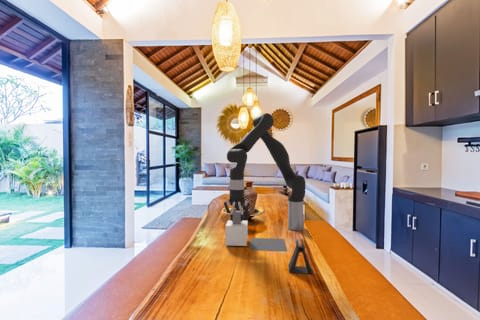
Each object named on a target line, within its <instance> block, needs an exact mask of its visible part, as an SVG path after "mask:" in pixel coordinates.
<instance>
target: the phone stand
mask: <svg viewBox="0 0 480 320" xmlns="http://www.w3.org/2000/svg"><path fill="white" fill-rule="evenodd" d="M305 249H306V246H305V244H304V240H303V239H302V238H300V239H299V238H297V239H296V241H295V248H294V250H293V253H292V256H291V258H290V261H289V263H288V272H289V274H297V273H300V274H301V273H305V274H304V275H313V272H312V268H311V264H310V262H309V259H308V256H307V254H306V250H305ZM300 253H302V256H303V260H304V264H305V266H302V265H297V261H298V259H299V254H300ZM296 265H297V266H296Z"/></svg>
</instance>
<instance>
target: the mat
mask: <svg viewBox="0 0 480 320" xmlns="http://www.w3.org/2000/svg"><path fill="white" fill-rule="evenodd" d="M249 242H250V244H249V251H254V252H255V251H257V252H258V251H259V252H260V251H261V252H262V251H263V252H264V251H265V252H288V248H287V245H286V242H285V238H267V237H266V238H265V237H264V238H263V237H250V241H249Z"/></svg>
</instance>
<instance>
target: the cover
mask: <svg viewBox="0 0 480 320" xmlns="http://www.w3.org/2000/svg"><path fill="white" fill-rule="evenodd" d="M248 222H249V221H248V220H245V221H242V222H241V212H240V211H236V210H233V222H232V220H230V219H228V220H227V221H226V224H225V226H224V228H225V232H224V233H225V241H224V242H225V246H233V247H236V246H238V247H242V246H243V247H247V246H248V240H249V239H248V238H249V237H248V236H249V235H248V232H249V230H248V228H249V227H248V225H249V223H248Z"/></svg>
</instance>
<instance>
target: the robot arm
mask: <svg viewBox="0 0 480 320" xmlns="http://www.w3.org/2000/svg"><path fill="white" fill-rule="evenodd" d="M274 124H275V120H274V117H273V116H272V115H271V113H269V112H268V113H262V114H260V115H258V116H255V117H254V118H253V119H252V125H253V128H252V129H251V130H249V132H247V133H246V134H245V135H244V136H242V139H241V140H240V141H239V142H238V143H237V144H235V145H233V146H232V147H230V149H229V150H228V152H227V153H226V159H227V161H228V162H229V163H231V164H233V163H234V164H235V165H236V166H235V167H234V166H233V167H231V169H230V170H229V187H228V189H229V198H228V200H227V201H226V200H225V201H223V205H224V209H225V211H226V213H227V214H230V217H229V220H232V222H233V211H235V209H236V208H239V209H240V212H241V222H242V221H243V219H244V214H245V213H247V211H249V207H250V204H251V202H250V201H247V200H246V199H245V180H244V179H245V175H244V174H245V173H244V172H245V170H246V169H245V168H246V164H247V160H248V154H247V153H249V152H250V151H251V150H252V149H253V147H254V146H255V144H256V143H257V142H258V141H259V140H260V139H261V140H262V142H263V143H264V145H265V147H266V148H267V150H268V151H269V154H270V156H271V157H272V159H273V161H274V163H275V164H276V166H277V168H278V169H279V171H280V173H281V175H282V177H283V179H284V182H285V184H286V186H287V187H288V188H289V189H290V190H291V194H290V195H288V197H287V204H288V205H287V229H289V230H290V231H303V230H305V214H304V199H305V196H306V187H307V186H306V185H307V184H306V179H305V178H304V176H303V175H299V174H296V173H295V172H294V170H293V168H292V167H291V162H290V156H289V153H288V151H287V149H286V147H285V146H284V144H283V143H282V142H280V141H279V140H277V139H276V138H274V137H273V136H272V135H271V133H270V132H269V130H270V129H271V128H272V127H274ZM243 204H244V205H245V206H246V209H245V211H243V208H242V206H243ZM229 205H230V206H231V209H229Z"/></svg>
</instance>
